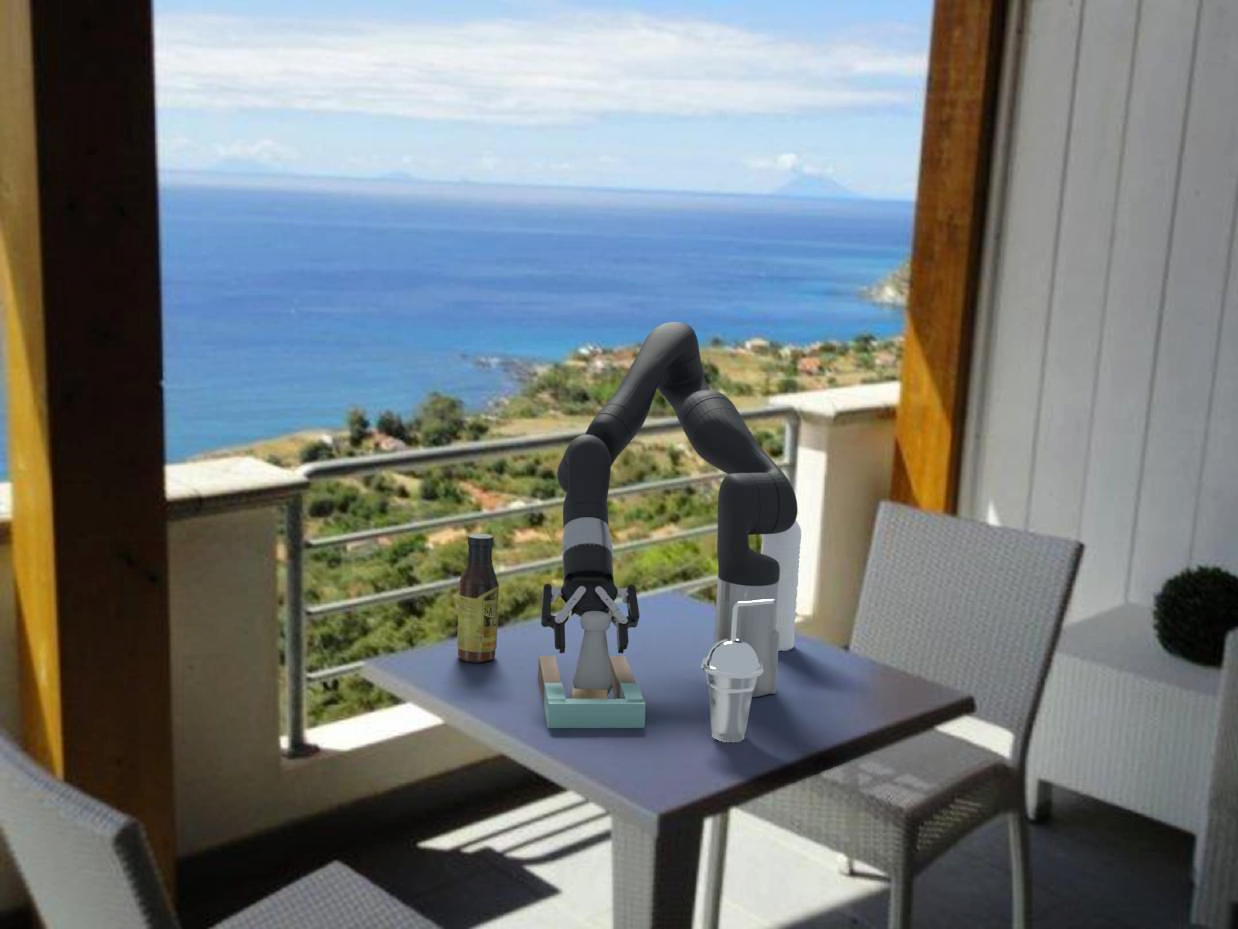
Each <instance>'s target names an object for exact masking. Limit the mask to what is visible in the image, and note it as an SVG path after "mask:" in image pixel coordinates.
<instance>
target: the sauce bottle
mask: <svg viewBox="0 0 1238 929" xmlns="http://www.w3.org/2000/svg"><path fill="white" fill-rule="evenodd" d="M467 546H468V553H467V554H468V556H467V562H468V563H467V565H466V566H465V568H464V569H463V570H462V573H461V575H460V579H459V592H458V609H457V610H458V611H457V613H458V614H457V615H458V617H457V636H456V637H457V639H456V641H457V643H456V644H457V657H458V658H459V659H460V660H461V661H463V662H464V661H465V662H467V663H468V662H469V663H477V664H478V663H484V662H485V663H486V662H490V661H491V660H493V659H495V656H496V650H497V644H498V642H497V641H498V622H499V620H498V619H499V616H498V615H499V592H500V590H499V588H500V585H499V582H498V578H497V575H496V572H495V569H494V565H493V559H492V558H493V546H494V536H493V535H492V534H488V533H471V534H468V535H467Z"/></svg>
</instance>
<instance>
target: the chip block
mask: <svg viewBox="0 0 1238 929" xmlns="http://www.w3.org/2000/svg"><path fill="white" fill-rule="evenodd" d="M607 691H608V690H597V689H575V688H574V687H572V693H571V699H608V696H607Z"/></svg>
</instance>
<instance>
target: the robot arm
mask: <svg viewBox="0 0 1238 929" xmlns="http://www.w3.org/2000/svg"><path fill="white" fill-rule="evenodd" d="M699 345H700V344H699V340H698V337H697V334H696V331H695V330H694V328H693V327H692V326H691V325H689V324H688V323H685V322H681V321H670V322H669V321H668V322H665V323H662V324H660V325H658V326H656V327H655V328H653V329H652V330H651V332H649V334H648V335H647V336H646V338H645V339H644V341H643V343H642V345H641V347H640V349H639V351H638V352H637V355H636V356H635V358H634V359H633V362H632V364H631V365H630V367H629V369H628V371H627V372H626V373H625V374H626V375H625V376H624V377H623V379H622V381H621V383H620V385H618V387H617V389H616V391H615V392H614V393H613V395H612V396H611V397H610V398H609V400H608V401H607V402H606V404H605V405H604V406H603V407H602V408H601V409H600V411H599V412H598V413H597V414H596V415H595V417H593V419H592V421H591V422H590V423H589V425H588V427H587V429H586V431H585V434H582V435H579V436H577V437H575V438H573V439H572V441H570V443H569V444H568V446H567V447H566V450H565V451H564V454H563V456H562V458H561V461H560V463H559V464H558V467H557V472H556V473H557V474H556V475H557V476H556V478H557V482H558V485H559V486H560V488H561V489H562V490H563V491H564V492H565V493H566V495H565V497H564V501H563V504H562V525H563V526H562V529H563V531H562V532H563V534H562V540H561V542H562V544H561V545H562V546H561V550H562V575H563V576H562V577H563V578H562V579H563V584H562V586H561V587H554V586H552V584H550V583H545V584H544V585H543V590H542V596H541V597H542V600H541V616H540V617H541V618H540V619H541V621H540V624H541V626H542V627H543V628H548V627H549V628H551V629H553V632H554V633H553V636H554V648H555V650H558V651H559V654H565V651H566V628H565V626H566V624H567V623H568V622H570V620H571V619H572V618H573V617H574V616H575V615H578V618H579V617H580V618H581V616H582V615H583V614H584V613H585V612H588V611H601V612H604V613H607V614H608V615H609V617H610V623H612V625H614V627H616V629H617V630H616V642H617V643H616V644H617V653H618V654H624V651H625V650H627V649H628V645H629V641H630V640H629V630H628V629H630V628H637V627H638V624H639V620H640V610H639V603H638V595H637V587H636V586H635V585H634V584H633V583H631V584H629V585H627V587H619V588H618V587H617V586H616V585H615V581H614V578H615V576H614V566H613V565H614V563H613V560H614V559H613V551H614V549H613V544H612V536H611V533H610V524H609V523H610V522H609V508H608V497H609V490H610V482H611V480H610V479H611V469H612V466H613V464H614V462H615V461H616V459H617V458H618V457H619V456H620V455H621V453H622V452H623V451H624V450H625V449H626V448H627V447H628V446H629V444H630V443H631V442H632V440H633V439H634V438H635V436H637V434H638V433H639V431H641V428H642V427H643V425H644V424H645V422H646V420H647V417H648V415H649V412H650V410H651V408H652V404H653V401H654V397H655V394H656V392H657V390H658V391H659V393H661V395H662V396H663V398H665V400H666V401H667V402H668V403H669V405H670V406H671V407H672V409H673V411H674V412H675V415H676V418H677V420H678V422H679V424H680V426H681V428H682V430H683V432H684V435H685V436H686V438H687V440H688V441H689V443H690V445H691V446H692V448H693V449H694V451H695V453H696V454H697V455H698V457H700V458H701V459H703V460H704V461H705V462H706V463H708V464H710V465H711V466H712V467H715V468H716V469H718V470H719V471H721V472H723V473H725V474H727V475H726V476H724V478H723V479H722V481H721V483H720V486H719V488H718V496H717V542H716V545H717V546H716V555H717V567H718V572H717V573H718V574H717V586H716V587H717V588H716V604H715V606H716V607H715V621H714V623H715V624H714V637H713V646H714V645H715V644H716V643H718V642H719V641H721V640H724V639H728V638H731V626H732V609H733V606H734V605H735V604H736V603H737V602H742V601H757V600H772V599H774V602H775V604H774V605H759V606H744V607H739V608H738V612H737V628H736V639H740V640H743V641H745V642H747V643H748V644H749V645H750V646H751V647H752V648H753V649H754V651H755V653H756V655H757V658H758V660H759V661H760V662H761V663H762V665H763V670H764V671H763V673H762V674H761V675H759V676H757V682H756V684H755V688H754V690H753V694H752V698H757V697H763V696H766V695H772V694H773V695H775V694H776V692H777V691H776V690H777V678H778V677H777V675H778V662H779V651H778V649H779V632H778V631H777V630H776V621H777V606H778V591H779V577H780V565H779V563H778V561H776V560H775V559H774V558H772V557H769V556H767V555H764V554H761V553H762V552H761V553H760V552H757V551H755V550H754V549H752V548H750V541H749V536H751V535H754V536H756V535H762V534H776V533H781V532H784V531H787V530H788V529H790V528H791V527H792V526H793V524H794V523H795V521H797V517H798V512H799V510H798V502H797V496H796V493H795V489H794V487H793V486H792V483H791V481H790V480H789V479H788V477H787V476H786V474H785V473H784V471H782V469H781V468H780V467H779V465H777V464H776V463H775V462H774V460H773V459H772V458H771V457H770V456H769V455H768V453H767V452H765V450H764V449H763V448H762V446H761V445H760V444H759V442H758V440H757V439H756V438H755V436H754V435H753V434H752V432H751V430H750V429H749V427H748V426H747V424H746V422H745V420H744V418H743V416H741V413H740V412H739V411H738V409H737V408H736V406H735V405H734V402H732V400H731V399H730V398H729V397H727V395H726V394H723V393H721V392H719V391H716V390H711V389H710V387H709V385H708V383H707V381H706V377H705V375H704V371H703V365H702V360H701V354H700V347H699ZM558 597H560V598H561V599H562V601H563V602H564V603H565V604H564V605H563V607H562V608H561V610H560V611H559V613H557V615H556V616H555V615H552V603H555V602H556V600H557V598H558ZM617 597H619V598H620V599H621V601H622V603H623V604H626V609H627V616H626V615H625V614H624V613H623V612H622V611H621V610H620V606H618V605H617V603H616V602H615V601H616V599H617Z"/></svg>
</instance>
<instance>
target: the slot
mask: <svg viewBox="0 0 1238 929" xmlns="http://www.w3.org/2000/svg"><path fill="white" fill-rule="evenodd" d="M609 660H610V668H611V675H612V683H613V685H612V689H613V692H614V694H615V695H614V696H615V699H620V683H637V682H636V681H635V678H634V675H633V673H632V668H631V667H630V665H629V663H628V659H627V657H626V656H625V655H609ZM537 666H538V669H537V670H538V673H537V676H538V680H539V681H538V682H539V686H540V692H541V698H542V704H543V705H544V691H545V683H562V680H561V676H560V671H559V667H558V663H557V658H556V655H538V665H537Z"/></svg>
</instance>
